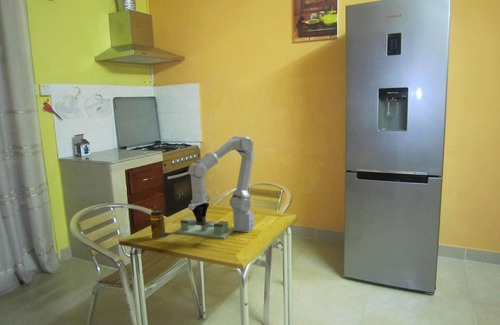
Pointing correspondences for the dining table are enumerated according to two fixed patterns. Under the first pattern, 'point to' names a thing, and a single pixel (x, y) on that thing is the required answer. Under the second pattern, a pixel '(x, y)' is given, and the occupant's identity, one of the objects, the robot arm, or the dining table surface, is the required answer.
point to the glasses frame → (202, 223)
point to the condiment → (158, 225)
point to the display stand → (205, 230)
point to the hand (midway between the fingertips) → (201, 220)
